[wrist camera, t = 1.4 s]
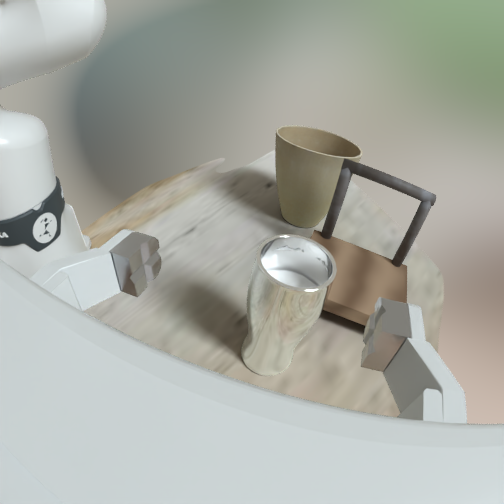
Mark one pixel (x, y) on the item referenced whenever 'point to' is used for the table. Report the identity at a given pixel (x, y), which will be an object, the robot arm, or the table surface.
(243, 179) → the table surface
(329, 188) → the plant pot
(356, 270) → the dolly
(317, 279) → the beer glass
